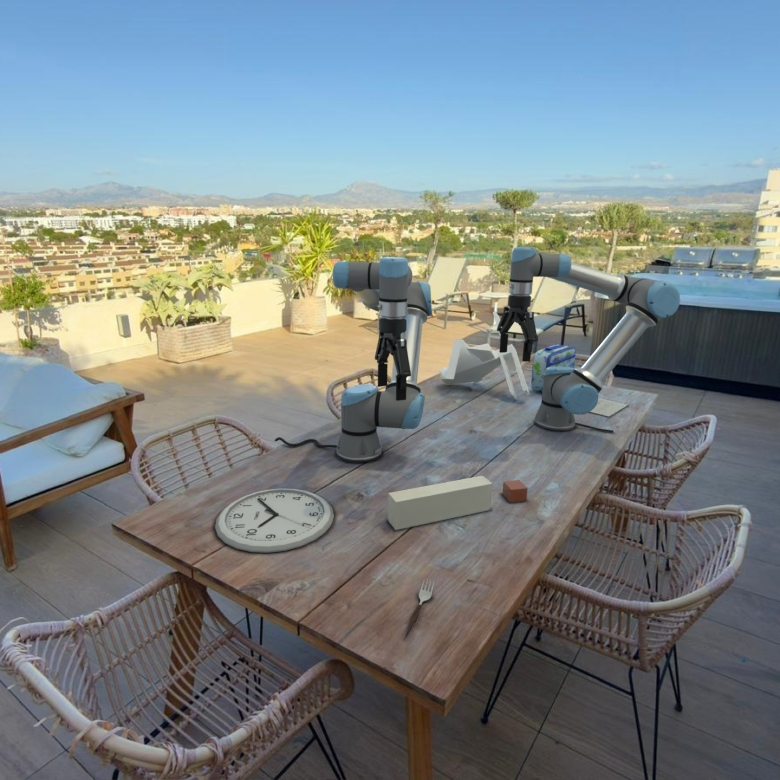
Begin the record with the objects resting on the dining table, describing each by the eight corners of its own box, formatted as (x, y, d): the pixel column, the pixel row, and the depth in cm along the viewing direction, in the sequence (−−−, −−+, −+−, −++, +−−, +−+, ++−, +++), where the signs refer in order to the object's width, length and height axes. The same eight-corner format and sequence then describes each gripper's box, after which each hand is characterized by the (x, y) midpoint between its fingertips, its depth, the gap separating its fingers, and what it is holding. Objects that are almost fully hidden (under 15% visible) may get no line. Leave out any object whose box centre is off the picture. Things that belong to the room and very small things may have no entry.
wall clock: (332, 544, 122) (200, 548, 120) (332, 550, 123) (201, 555, 120) (334, 484, 151) (228, 486, 148) (334, 489, 151) (228, 491, 149)
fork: (398, 636, 97) (399, 628, 97) (423, 584, 111) (423, 576, 111) (412, 640, 96) (412, 631, 96) (435, 587, 111) (435, 579, 110)
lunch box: (547, 397, 237) (552, 352, 231) (526, 391, 245) (531, 348, 238) (574, 386, 255) (580, 344, 249) (554, 381, 262) (559, 340, 256)
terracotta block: (518, 492, 152) (519, 479, 150) (526, 500, 147) (527, 488, 146) (502, 494, 151) (503, 481, 149) (509, 502, 146) (511, 489, 145)
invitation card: (608, 416, 214) (573, 407, 224) (608, 416, 214) (573, 408, 224) (628, 404, 229) (594, 396, 238) (628, 405, 229) (594, 397, 238)
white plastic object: (461, 429, 252) (437, 405, 227) (444, 352, 274) (420, 323, 250) (535, 404, 240) (518, 377, 215) (510, 326, 262) (492, 293, 237)
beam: (480, 501, 146) (482, 475, 144) (490, 509, 142) (492, 483, 139) (387, 520, 136) (388, 492, 134) (395, 530, 132) (396, 502, 129)
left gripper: (363, 310, 149) (363, 381, 156) (398, 325, 127) (396, 408, 134) (388, 309, 152) (387, 379, 158) (425, 324, 130) (422, 404, 136)
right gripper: (489, 290, 184) (485, 349, 191) (533, 300, 162) (527, 366, 169) (507, 290, 187) (503, 348, 193) (553, 299, 165) (546, 364, 171)
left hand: (391, 392), depth 146 cm, fingers open, 13 cm apart
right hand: (514, 356), depth 181 cm, fingers open, 13 cm apart
